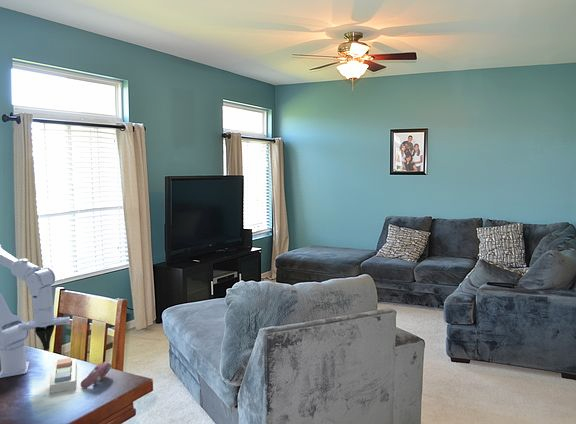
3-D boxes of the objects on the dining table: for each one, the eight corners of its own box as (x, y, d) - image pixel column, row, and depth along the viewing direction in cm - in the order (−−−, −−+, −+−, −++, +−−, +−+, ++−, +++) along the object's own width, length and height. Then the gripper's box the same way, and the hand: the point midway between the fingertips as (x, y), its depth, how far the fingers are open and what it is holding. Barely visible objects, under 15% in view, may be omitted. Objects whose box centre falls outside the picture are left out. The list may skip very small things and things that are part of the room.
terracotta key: (58, 365, 163) (57, 359, 162) (71, 363, 164) (70, 357, 164) (57, 370, 159) (56, 364, 159) (71, 368, 160) (70, 362, 160)
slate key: (56, 379, 153) (55, 373, 152) (70, 376, 154) (69, 370, 154) (55, 384, 149) (55, 378, 149) (70, 382, 150) (69, 375, 150)
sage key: (57, 375, 158) (57, 369, 157) (71, 372, 159) (70, 367, 159) (56, 380, 154) (56, 374, 154) (70, 377, 156) (70, 371, 155)
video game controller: (90, 394, 149) (98, 375, 148) (78, 387, 150) (85, 367, 148) (108, 379, 159) (116, 361, 157) (96, 372, 159) (104, 354, 158)
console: (53, 369, 164) (53, 362, 163) (76, 365, 166) (76, 358, 166) (50, 393, 147) (49, 385, 147) (75, 388, 150) (75, 380, 149)
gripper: (15, 314, 149) (19, 357, 151) (67, 307, 155) (71, 349, 156) (18, 308, 156) (22, 349, 157) (68, 301, 161) (71, 341, 163)
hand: (46, 348), depth 157 cm, fingers closed
